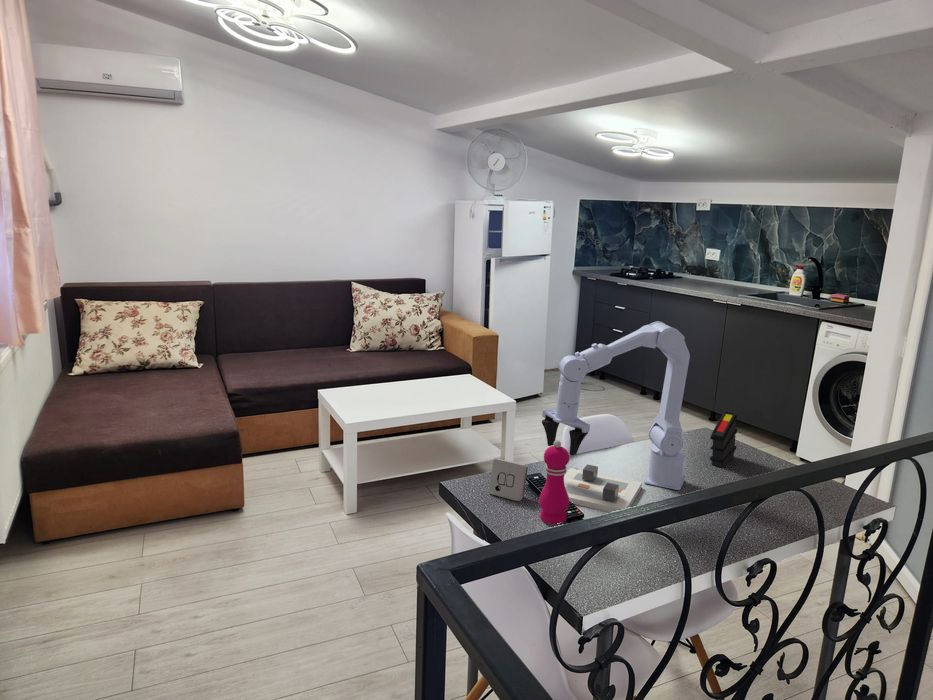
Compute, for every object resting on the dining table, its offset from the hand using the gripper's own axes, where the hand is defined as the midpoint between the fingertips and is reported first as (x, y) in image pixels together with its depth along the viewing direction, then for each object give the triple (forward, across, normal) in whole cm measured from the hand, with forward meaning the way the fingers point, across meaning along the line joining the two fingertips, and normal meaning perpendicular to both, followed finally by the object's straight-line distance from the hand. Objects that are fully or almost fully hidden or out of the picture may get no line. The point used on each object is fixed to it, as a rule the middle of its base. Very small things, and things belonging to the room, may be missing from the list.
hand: (561, 449), depth 176 cm
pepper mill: (+10, +12, -16) cm, 23 cm away
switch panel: (+9, +10, +3) cm, 14 cm away
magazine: (+6, +22, +49) cm, 54 cm away
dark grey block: (+7, +6, +6) cm, 11 cm away
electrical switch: (+11, -4, -15) cm, 19 cm away
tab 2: (+7, +16, +1) cm, 18 cm away
